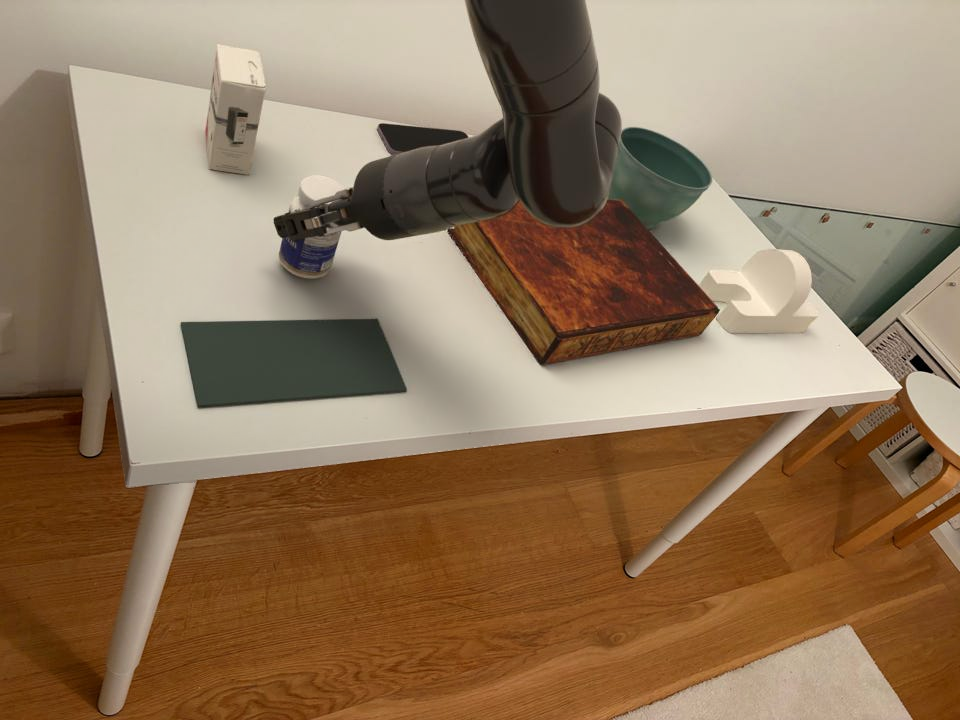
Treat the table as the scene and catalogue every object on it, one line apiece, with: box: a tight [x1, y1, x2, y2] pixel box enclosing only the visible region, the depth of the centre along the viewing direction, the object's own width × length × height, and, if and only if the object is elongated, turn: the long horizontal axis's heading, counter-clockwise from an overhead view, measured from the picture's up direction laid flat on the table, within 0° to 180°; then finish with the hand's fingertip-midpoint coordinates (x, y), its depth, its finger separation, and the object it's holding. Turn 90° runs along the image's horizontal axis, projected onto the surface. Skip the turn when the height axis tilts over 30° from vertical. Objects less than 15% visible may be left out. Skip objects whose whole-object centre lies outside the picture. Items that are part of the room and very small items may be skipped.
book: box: [446, 199, 721, 366], centre depth 96 cm, size 30×24×5 cm
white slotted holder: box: [698, 248, 820, 334], centre depth 108 cm, size 10×18×11 cm, turn 112°
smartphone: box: [376, 122, 469, 156], centre depth 108 cm, size 7×1×15 cm
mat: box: [180, 318, 408, 409], centre depth 70 cm, size 20×10×1 cm, turn 114°
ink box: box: [205, 43, 267, 176], centre depth 85 cm, size 9×5×12 cm, turn 17°
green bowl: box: [607, 126, 713, 230], centre depth 115 cm, size 16×16×11 cm
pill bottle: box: [278, 174, 345, 279], centre depth 76 cm, size 6×6×10 cm
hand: (301, 219), depth 77 cm, fingers closed on pill bottle, 5 cm apart
